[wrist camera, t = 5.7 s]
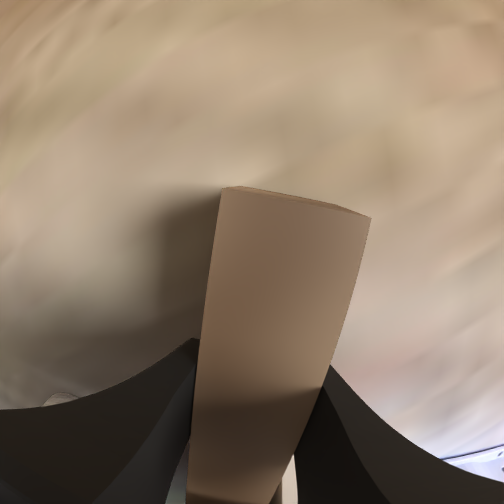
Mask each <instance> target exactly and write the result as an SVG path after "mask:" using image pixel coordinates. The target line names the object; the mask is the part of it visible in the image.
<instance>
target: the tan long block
mask: <svg viewBox="0 0 504 504" xmlns="http://www.w3.org/2000/svg"><path fill="white" fill-rule="evenodd" d="M370 222H371V218H370V217H367V216H365V215H362V214H359V213H357V212H354V211H351V210H349V209H346V208H343V207H341V206H338V205H335V204H330V203H325V202H321V201H316V200H311V199H306V198H302V197H297V196H292V195H287V194H281V193H276V192H271V191H265V190H260V189H254V188H249V187H243V186H237V187H229V188H222V193H221V199H220V205H219V211H218V217H217V224H216V230H215V236H214V243H213V250H212V256H211V263H210V270H209V277H208V284H207V292H206V299H205V306H204V314H203V322H202V330H201V338H200V346H199V355H198V364H197V373H196V382H195V392H194V401H193V412H192V422H191V434H190V446H189V458H188V472H187V486H186V503H185V504H269V502H270V501H271V499H272V497H273V495H274V493H275V491H276V489H277V487H278V485H279V483H280V481H281V479H282V477H283V475H284V473H285V471H286V469H287V467H288V465H289V463H290V460H291V458H292V456H293V454H294V452H295V450H296V447H297V445H298V443H299V441H300V438H301V436H302V434H303V432H304V429H305V427H306V425H307V422H308V420H309V417H310V415H311V412H312V410H313V408H314V405H315V403H316V400H317V397H318V395H319V392H320V390H321V387H322V384H323V382H324V379H325V376H326V374H327V371H328V368H329V365H330V362H331V360H332V357H333V354H334V351H335V348H336V345H337V342H338V339H339V336H340V333H341V330H342V327H343V323H344V320H345V317H346V314H347V310H348V307H349V304H350V300H351V297H352V293H353V290H354V286H355V283H356V279H357V275H358V272H359V268H360V264H361V260H362V256H363V252H364V248H365V244H366V240H367V235H368V231H369V227H370Z"/></svg>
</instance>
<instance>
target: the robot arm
mask: <svg viewBox="0 0 504 504" xmlns="http://www.w3.org/2000/svg"><path fill="white" fill-rule="evenodd" d="M199 346H200V340H199V339H195V338H191V339H189V340H188V341H186V342H185V343H184V344H182V345H181V346H180V347H178V348H177V349H176V350H174V351H173V352H172V353H170V354H169V355H167V356H166V357H165V358H163V359H162V360H160V361H159V362H157V363H156V364H154V365H153V366H151V367H149V368H148V369H146V370H144V371H143V372H141V373H139V374H137V375H136V376H134V377H132V378H130V379H128V380H126V381H124V382H122V383H120V384H118V385H116V386H114V387H111V388H109V389H106V390H104V391H101V392H98V393H96V394H92V395H89V396H86V397H82V398H79V399H76V400H72V401H69V402H64V403H60V404H55V405H49V406H43V407H36V408H27V409H7V410H0V504H165V502H166V498H167V495H168V491H169V488H170V484H171V481H172V478H173V475H174V473H175V470H176V468H177V465H178V463H179V460H180V458H181V456H182V453H183V451H184V449H185V446H186V444H187V442H188V439H189V437H190V434H191V422H192V412H193V401H194V392H195V382H196V373H197V364H198V355H199ZM294 462H295V472H296V482H297V497H298V504H504V446H501V447H498V448H494V449H490V450H487V451H483V452H479V453H475V454H471V455H466V456H462V457H457V458H452V459H447V460H441V459H439V458H437V457H435V456H433V455H432V454H430V453H428V452H427V451H425V450H423V449H422V448H420V447H418V446H417V445H415V444H414V443H412V442H411V441H409V440H408V439H406V438H405V437H404V436H402V435H401V434H400V433H398V432H397V431H396V430H394V429H393V428H392V427H391V426H389V425H388V424H387V423H386V422H385V421H384V420H383V419H381V418H380V417H379V416H378V415H377V414H376V413H375V412H374V411H373V410H372V409H371V408H370V407H369V406H368V405H367V404H366V403H365V402H364V401H363V400H362V399H361V398H360V397H359V396H358V395H357V394H356V393H355V392H354V391H353V390H352V388H351V387H350V386H349V385H348V384H347V383H346V382H345V381H344V379H343V378H342V377H341V376H340V375H339V374H338V373H337V371H336V370H335V369H334V368H333V367H332V366H331V365H329V368H328V371H327V374H326V376H325V379H324V382H323V384H322V387H321V390H320V392H319V395H318V397H317V400H316V403H315V405H314V408H313V410H312V412H311V415H310V417H309V420H308V422H307V425H306V427H305V429H304V432H303V434H302V436H301V438H300V441H299V443H298V445H297V447H296V450H295V452H294Z"/></svg>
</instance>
